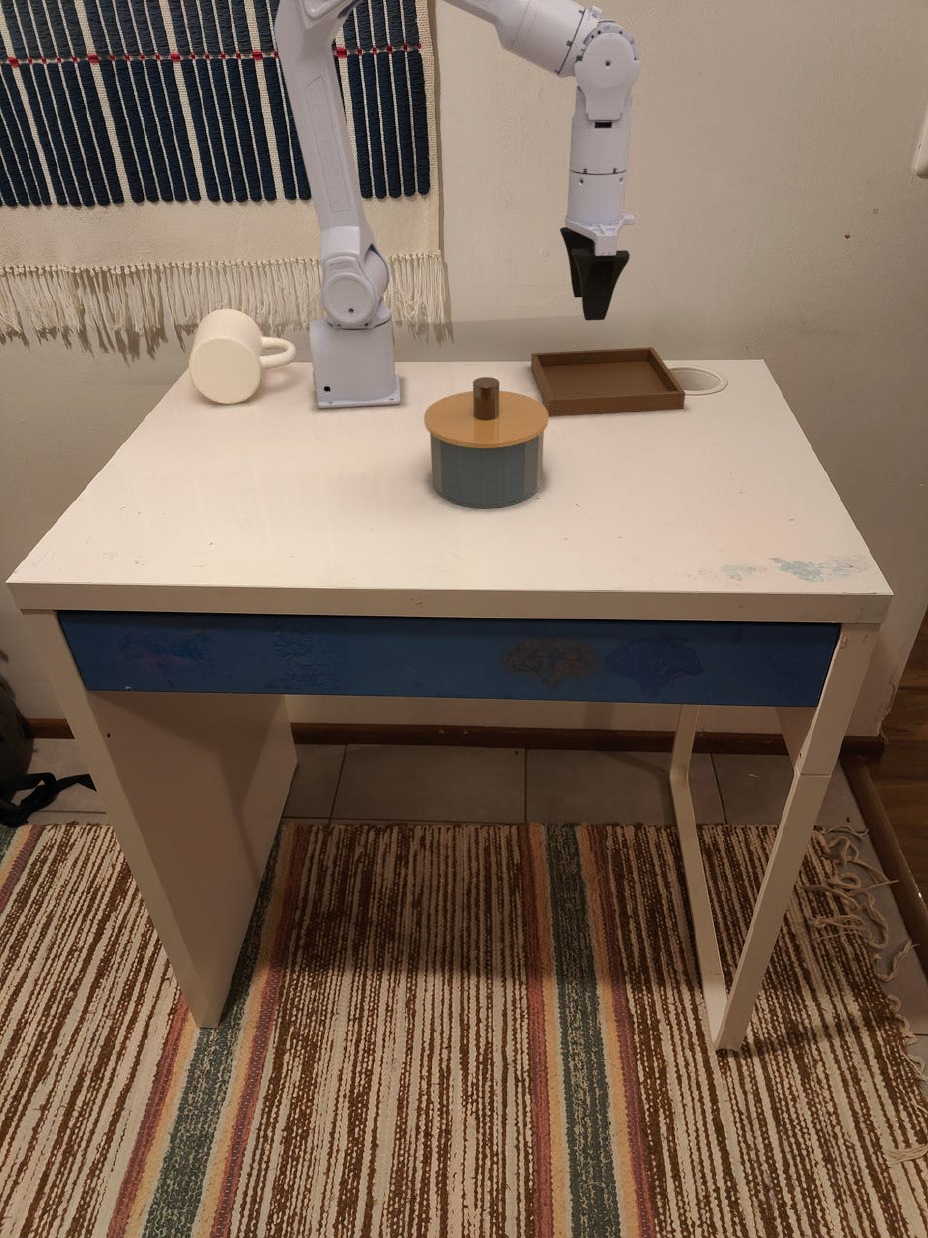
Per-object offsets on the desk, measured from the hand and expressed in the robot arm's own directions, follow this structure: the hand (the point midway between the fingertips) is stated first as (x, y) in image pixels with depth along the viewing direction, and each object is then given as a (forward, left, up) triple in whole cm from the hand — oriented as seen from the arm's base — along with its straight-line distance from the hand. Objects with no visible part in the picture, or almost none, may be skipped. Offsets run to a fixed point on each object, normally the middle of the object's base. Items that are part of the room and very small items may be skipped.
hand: (588, 307), depth 94 cm
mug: (-39, +8, -10) cm, 41 cm away
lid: (-13, -19, -4) cm, 24 cm away
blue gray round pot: (-13, -19, -10) cm, 25 cm away
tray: (+3, +2, -10) cm, 11 cm away
